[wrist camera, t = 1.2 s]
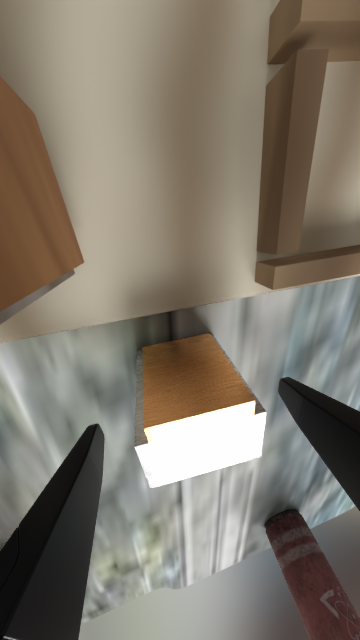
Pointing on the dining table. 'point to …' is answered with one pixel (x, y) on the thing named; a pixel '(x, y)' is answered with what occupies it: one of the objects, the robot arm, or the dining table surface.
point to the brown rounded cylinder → (312, 580)
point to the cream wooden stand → (173, 155)
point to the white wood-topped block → (193, 411)
